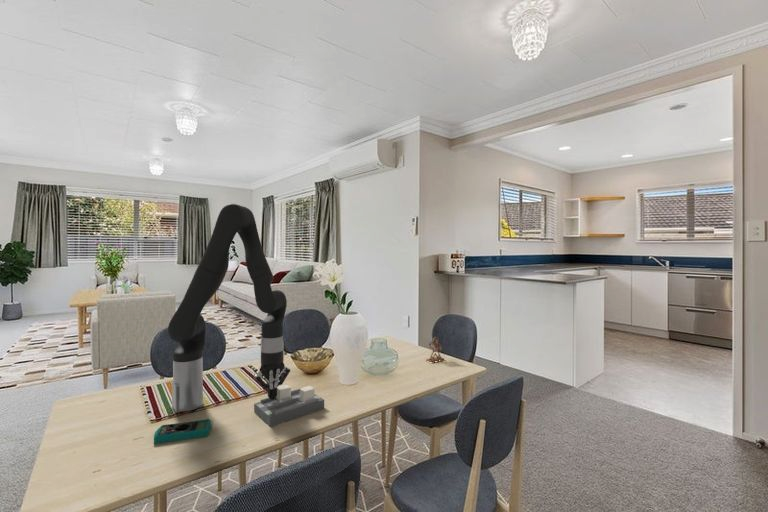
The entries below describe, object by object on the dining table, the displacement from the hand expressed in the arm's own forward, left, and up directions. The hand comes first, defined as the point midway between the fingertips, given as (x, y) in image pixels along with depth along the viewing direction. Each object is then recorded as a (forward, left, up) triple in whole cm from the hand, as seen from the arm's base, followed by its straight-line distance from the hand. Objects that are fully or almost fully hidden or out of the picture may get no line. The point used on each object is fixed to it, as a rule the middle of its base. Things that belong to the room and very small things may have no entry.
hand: (272, 398), depth 123 cm
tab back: (+4, 0, -1) cm, 4 cm away
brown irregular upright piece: (+85, -1, -5) cm, 85 cm away
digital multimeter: (-27, +3, -5) cm, 27 cm away
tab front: (+10, -6, -1) cm, 12 cm away
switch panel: (+5, -3, -5) cm, 7 cm away
